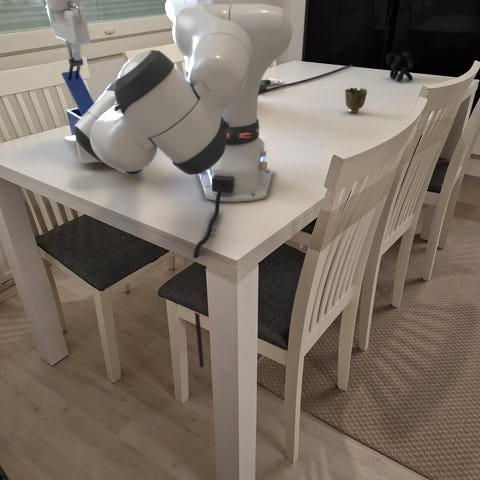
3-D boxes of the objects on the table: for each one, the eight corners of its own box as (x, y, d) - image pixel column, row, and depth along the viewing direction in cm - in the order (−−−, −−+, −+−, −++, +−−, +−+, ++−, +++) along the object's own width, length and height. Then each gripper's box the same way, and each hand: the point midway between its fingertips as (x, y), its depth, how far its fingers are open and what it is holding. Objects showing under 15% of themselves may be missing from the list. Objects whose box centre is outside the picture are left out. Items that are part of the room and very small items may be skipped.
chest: (72, 139, 140) (65, 110, 135) (87, 136, 142) (80, 107, 137) (91, 152, 130) (84, 121, 125) (106, 149, 132) (100, 118, 127)
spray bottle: (231, 92, 187) (266, 82, 203) (251, 96, 181) (286, 85, 197) (231, 84, 185) (266, 75, 201) (251, 88, 179) (286, 78, 195)
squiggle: (400, 92, 202) (376, 71, 205) (417, 76, 202) (392, 56, 205) (405, 81, 191) (380, 59, 194) (423, 64, 191) (397, 42, 194)
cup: (340, 114, 157) (342, 91, 153) (346, 109, 163) (348, 86, 159) (361, 116, 154) (364, 93, 150) (366, 111, 160) (369, 88, 156)
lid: (61, 74, 126) (64, 53, 119) (77, 71, 129) (81, 50, 121) (84, 120, 125) (88, 102, 117) (100, 117, 127) (105, 98, 120)
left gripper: (90, 2, 107) (100, 63, 114) (65, -2, 121) (75, 53, 129) (64, 4, 104) (75, 66, 111) (41, -1, 118) (52, 55, 126)
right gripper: (144, 125, 123) (124, 114, 133) (71, 141, 113) (55, 128, 123) (147, 147, 127) (127, 135, 136) (76, 164, 117) (60, 150, 126)
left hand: (75, 59), depth 120 cm, fingers closed, pressing on lid
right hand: (92, 132), depth 130 cm, fingers closed on chest, 5 cm apart
